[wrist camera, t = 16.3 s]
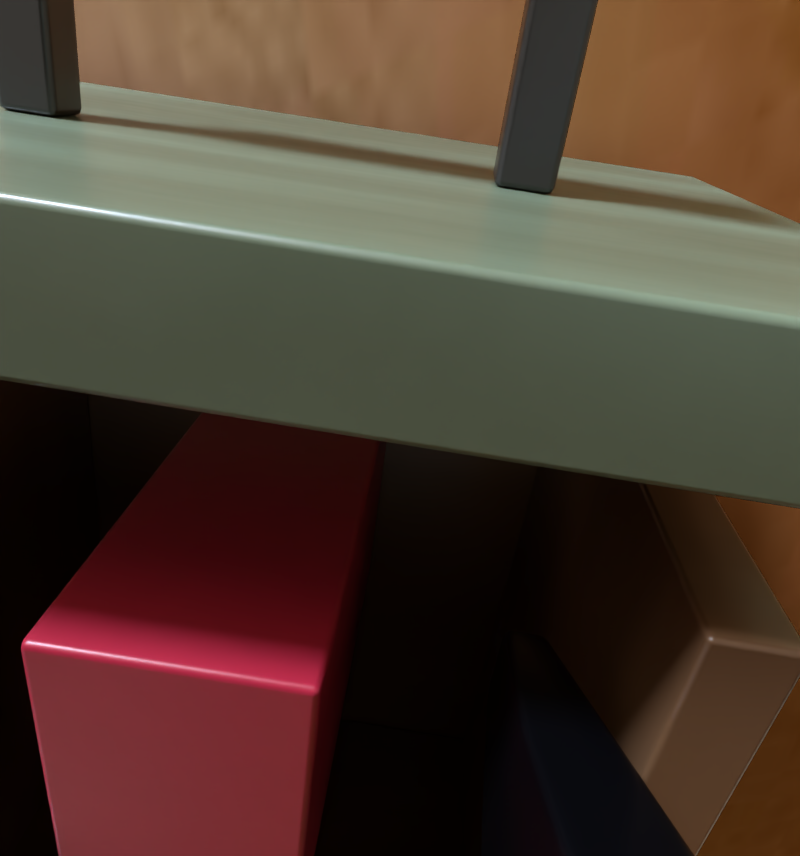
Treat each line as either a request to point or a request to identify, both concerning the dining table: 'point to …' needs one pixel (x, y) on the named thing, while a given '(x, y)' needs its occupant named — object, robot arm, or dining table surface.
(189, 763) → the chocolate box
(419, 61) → the dining table surface
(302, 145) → the drawer
